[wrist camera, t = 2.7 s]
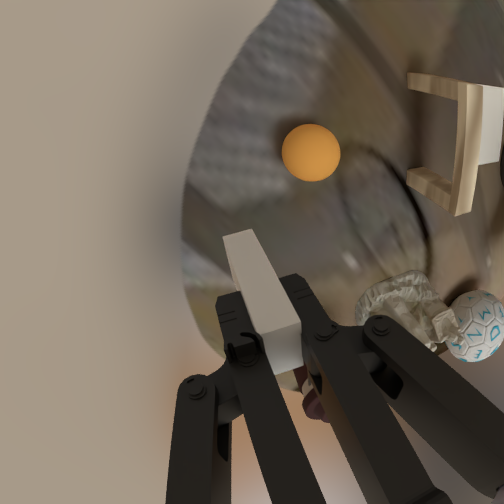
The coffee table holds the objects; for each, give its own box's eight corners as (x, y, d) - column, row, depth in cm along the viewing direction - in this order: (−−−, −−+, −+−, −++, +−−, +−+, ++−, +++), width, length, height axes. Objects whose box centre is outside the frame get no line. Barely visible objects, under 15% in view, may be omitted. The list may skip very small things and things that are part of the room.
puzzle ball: (422, 315, 54) (465, 368, 42) (473, 264, 51) (521, 309, 38) (437, 337, 62) (471, 381, 50) (480, 294, 59) (518, 334, 47)
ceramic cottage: (363, 281, 43) (421, 359, 32) (436, 262, 47) (490, 320, 36) (340, 345, 52) (379, 413, 41) (407, 322, 56) (447, 377, 45)
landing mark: (503, 88, 31) (504, 88, 30) (498, 160, 38) (498, 161, 38) (458, 81, 29) (459, 82, 29) (454, 168, 37) (455, 169, 36)
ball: (321, 116, 29) (349, 126, 24) (325, 165, 32) (351, 183, 27) (270, 124, 28) (291, 135, 24) (277, 175, 31) (297, 196, 27)
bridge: (424, 73, 28) (483, 85, 20) (422, 180, 36) (470, 211, 29) (406, 72, 28) (466, 83, 20) (406, 184, 36) (455, 216, 28)
